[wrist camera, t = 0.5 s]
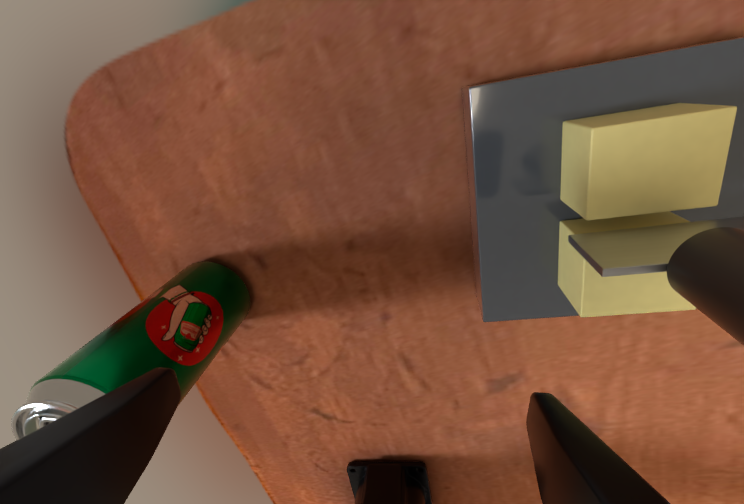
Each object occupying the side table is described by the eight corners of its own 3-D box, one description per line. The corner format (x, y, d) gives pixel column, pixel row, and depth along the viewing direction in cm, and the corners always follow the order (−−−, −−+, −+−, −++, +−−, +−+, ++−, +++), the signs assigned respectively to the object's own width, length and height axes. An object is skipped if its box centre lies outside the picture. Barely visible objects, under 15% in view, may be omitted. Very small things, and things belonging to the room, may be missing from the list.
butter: (655, 276, 18) (697, 310, 15) (557, 285, 19) (580, 318, 16) (680, 102, 15) (739, 105, 12) (561, 121, 16) (591, 128, 13)
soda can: (193, 321, 26) (34, 484, 16) (174, 257, 24) (-24, 393, 14) (260, 323, 26) (143, 494, 15) (246, 257, 24) (98, 400, 13)
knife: (738, 249, 14) (1094, 430, 6) (566, 265, 15) (707, 436, 8) (753, 187, 13) (1187, 315, 6) (568, 208, 14) (732, 341, 7)
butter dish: (693, 276, 21) (735, 305, 18) (475, 295, 23) (483, 322, 20) (739, 36, 16) (804, 26, 13) (461, 87, 18) (468, 86, 16)
